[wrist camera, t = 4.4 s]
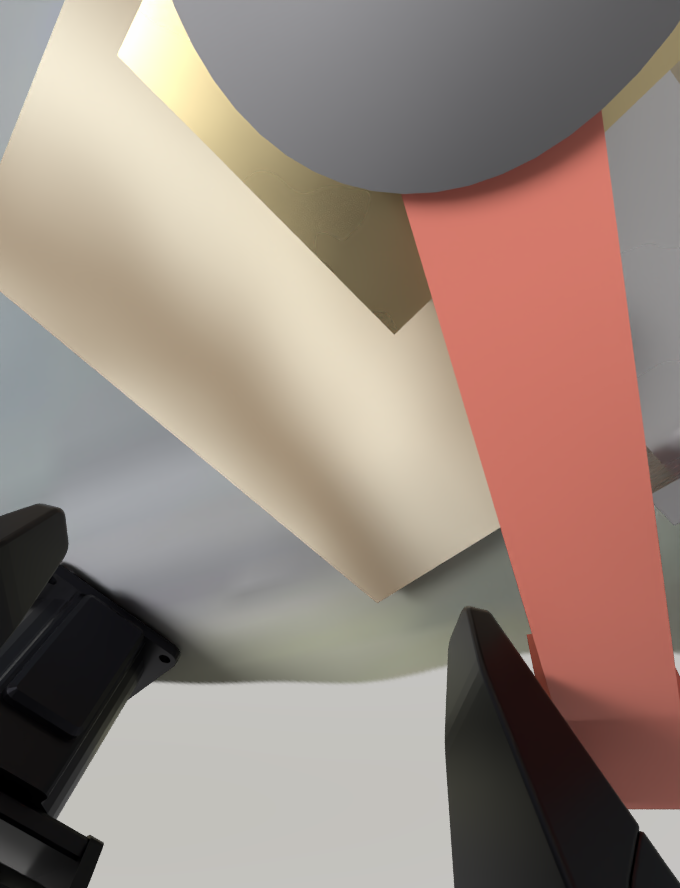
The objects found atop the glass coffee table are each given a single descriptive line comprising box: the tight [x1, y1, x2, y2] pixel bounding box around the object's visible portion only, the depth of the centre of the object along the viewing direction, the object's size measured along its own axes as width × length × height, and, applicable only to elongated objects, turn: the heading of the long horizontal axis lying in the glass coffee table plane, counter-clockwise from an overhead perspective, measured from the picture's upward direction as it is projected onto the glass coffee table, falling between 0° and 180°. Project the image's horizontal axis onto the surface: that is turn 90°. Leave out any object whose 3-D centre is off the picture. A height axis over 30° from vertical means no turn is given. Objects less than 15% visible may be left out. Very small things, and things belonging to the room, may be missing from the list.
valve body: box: [117, 0, 680, 525], centre depth 7 cm, size 6×14×4 cm, turn 45°
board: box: [0, 0, 680, 603], centre depth 11 cm, size 16×15×1 cm
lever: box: [172, 0, 680, 809], centre depth 6 cm, size 14×4×2 cm, turn 20°
